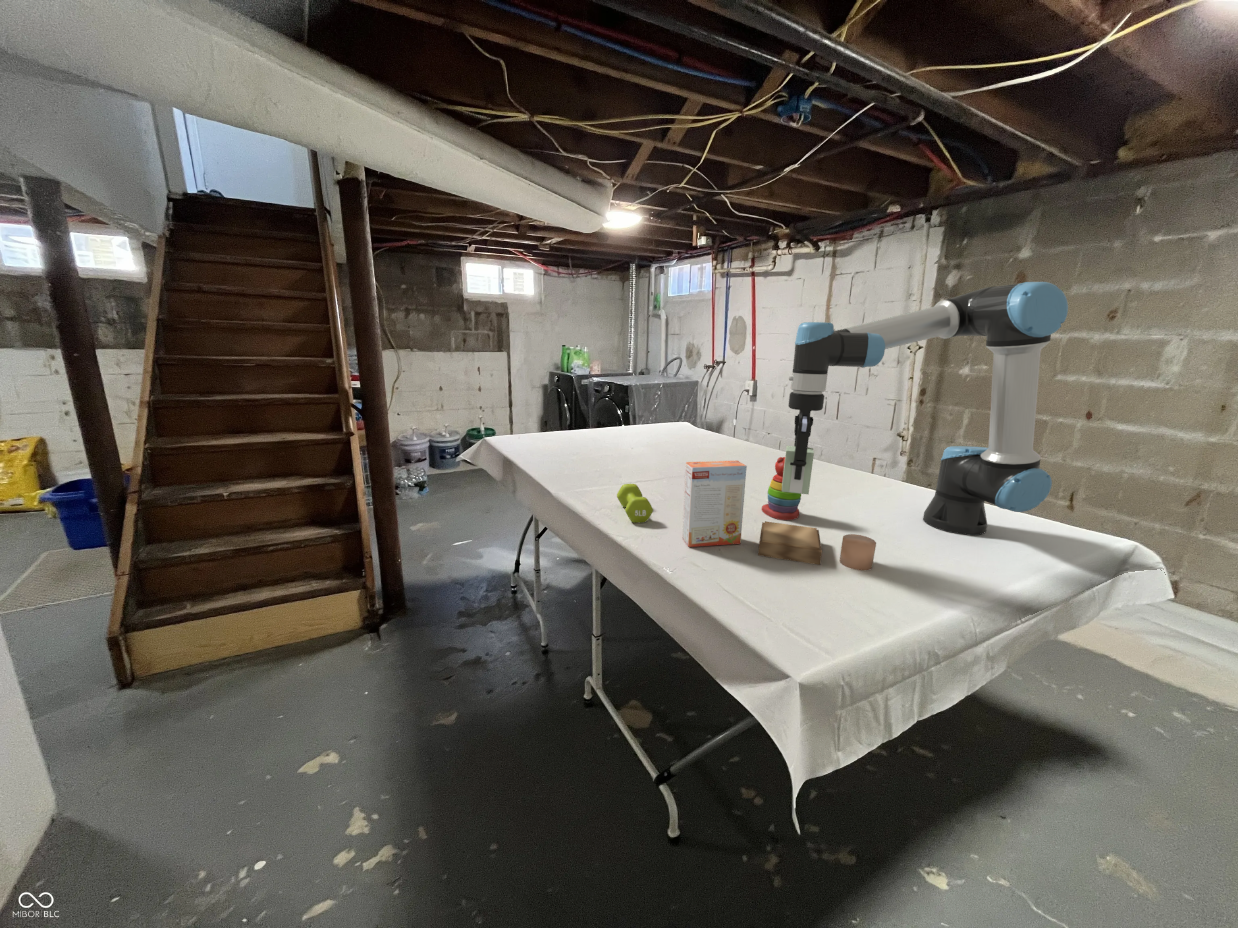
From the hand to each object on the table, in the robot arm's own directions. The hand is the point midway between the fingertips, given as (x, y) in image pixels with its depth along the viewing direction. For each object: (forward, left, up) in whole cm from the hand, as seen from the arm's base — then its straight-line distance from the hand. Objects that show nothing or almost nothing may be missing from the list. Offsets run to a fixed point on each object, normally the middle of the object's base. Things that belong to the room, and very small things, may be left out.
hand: (795, 487), depth 117 cm
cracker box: (+19, +3, -16) cm, 25 cm away
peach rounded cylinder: (-15, +3, -16) cm, 22 cm away
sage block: (0, 0, 0) cm, 0 cm away
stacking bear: (+2, -25, -16) cm, 30 cm away
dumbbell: (+43, -9, -16) cm, 47 cm away
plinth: (0, 0, -16) cm, 16 cm away
